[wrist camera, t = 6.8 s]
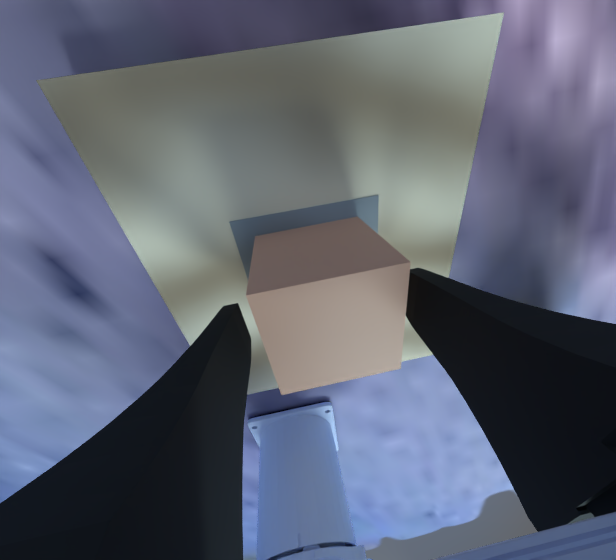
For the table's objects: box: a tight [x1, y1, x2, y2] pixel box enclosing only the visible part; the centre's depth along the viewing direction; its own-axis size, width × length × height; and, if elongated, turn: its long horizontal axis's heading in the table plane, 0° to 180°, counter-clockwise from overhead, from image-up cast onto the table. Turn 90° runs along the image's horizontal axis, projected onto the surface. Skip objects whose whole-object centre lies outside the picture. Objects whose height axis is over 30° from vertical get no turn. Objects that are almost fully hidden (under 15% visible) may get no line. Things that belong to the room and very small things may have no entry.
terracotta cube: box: [246, 216, 411, 395], centre depth 10 cm, size 5×5×5 cm
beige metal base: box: [36, 13, 504, 395], centre depth 13 cm, size 18×16×2 cm
